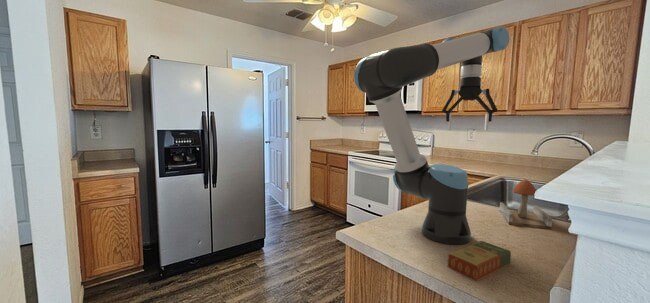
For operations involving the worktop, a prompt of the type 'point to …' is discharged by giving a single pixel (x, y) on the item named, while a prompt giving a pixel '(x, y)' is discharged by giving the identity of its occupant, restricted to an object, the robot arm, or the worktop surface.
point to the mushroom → (524, 195)
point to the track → (527, 218)
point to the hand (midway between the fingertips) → (467, 129)
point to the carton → (479, 260)
